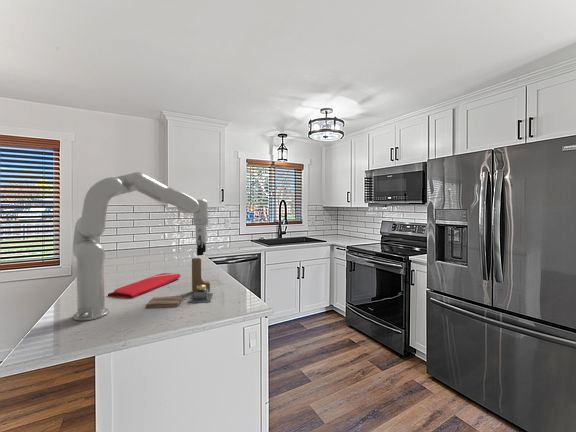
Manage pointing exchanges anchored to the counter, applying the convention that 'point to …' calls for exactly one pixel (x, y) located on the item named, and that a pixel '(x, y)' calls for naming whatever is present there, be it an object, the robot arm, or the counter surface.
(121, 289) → the dish drying mat
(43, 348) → the counter surface
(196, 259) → the wooden block
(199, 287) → the button
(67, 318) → the counter surface
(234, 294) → the counter surface
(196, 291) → the plate
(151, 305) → the board
